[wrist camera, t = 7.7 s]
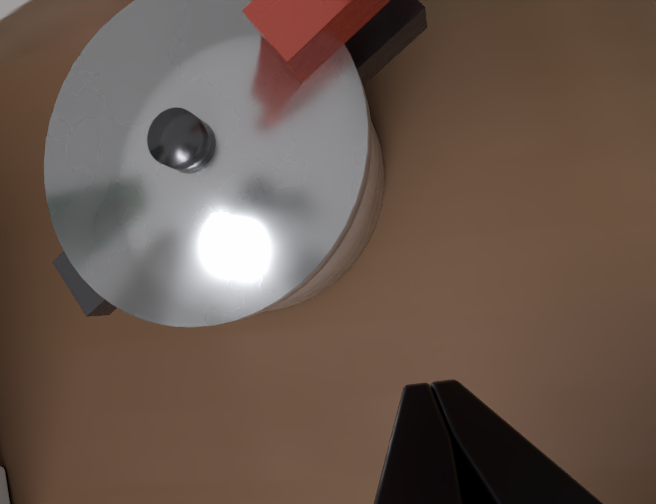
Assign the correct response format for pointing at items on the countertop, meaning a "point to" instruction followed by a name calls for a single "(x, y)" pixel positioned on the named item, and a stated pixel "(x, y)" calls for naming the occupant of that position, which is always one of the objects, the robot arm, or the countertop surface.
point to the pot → (369, 58)
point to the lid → (210, 154)
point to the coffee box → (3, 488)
